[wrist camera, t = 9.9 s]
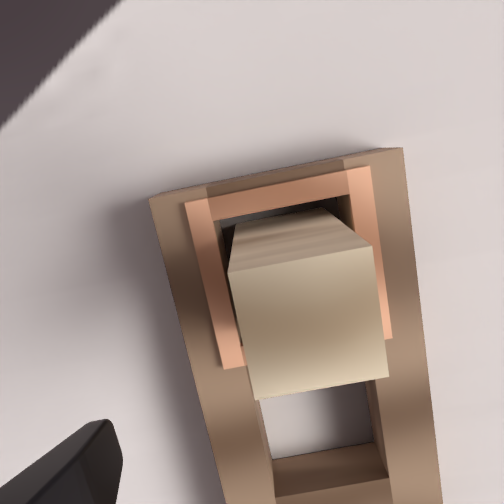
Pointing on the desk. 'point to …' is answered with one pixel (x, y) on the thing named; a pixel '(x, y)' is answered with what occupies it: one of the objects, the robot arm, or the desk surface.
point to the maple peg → (306, 303)
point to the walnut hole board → (232, 351)
